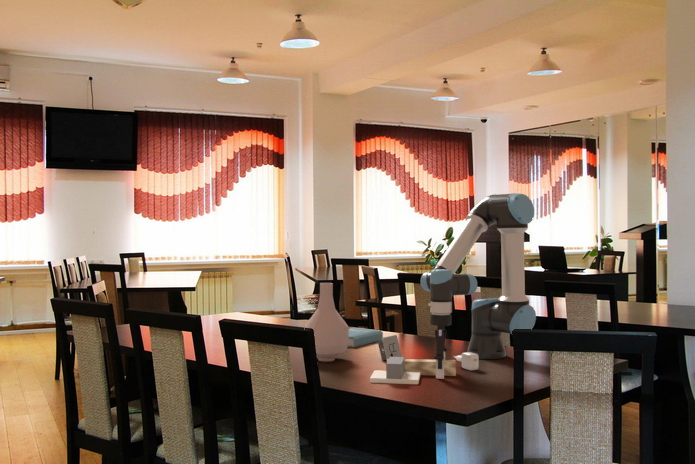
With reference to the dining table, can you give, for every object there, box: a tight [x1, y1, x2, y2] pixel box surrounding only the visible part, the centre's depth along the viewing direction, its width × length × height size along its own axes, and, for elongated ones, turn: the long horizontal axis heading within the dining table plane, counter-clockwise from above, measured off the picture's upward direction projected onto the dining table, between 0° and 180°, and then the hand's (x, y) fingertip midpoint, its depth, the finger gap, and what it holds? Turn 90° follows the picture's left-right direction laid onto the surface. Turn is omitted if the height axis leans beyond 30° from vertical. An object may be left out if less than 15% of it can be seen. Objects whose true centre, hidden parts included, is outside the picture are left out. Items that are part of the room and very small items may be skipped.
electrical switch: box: [377, 334, 403, 361], centre depth 254 cm, size 9×5×9 cm, turn 141°
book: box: [347, 327, 384, 348], centre depth 292 cm, size 23×16×5 cm
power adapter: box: [452, 351, 480, 371], centre depth 238 cm, size 11×5×6 cm, turn 28°
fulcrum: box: [369, 356, 421, 385], centre depth 219 cm, size 16×12×6 cm
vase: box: [304, 282, 349, 362], centre depth 253 cm, size 18×18×30 cm
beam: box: [386, 358, 457, 377], centre depth 228 cm, size 24×4×5 cm, turn 84°
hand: (440, 374), depth 226 cm, fingers open, 13 cm apart
